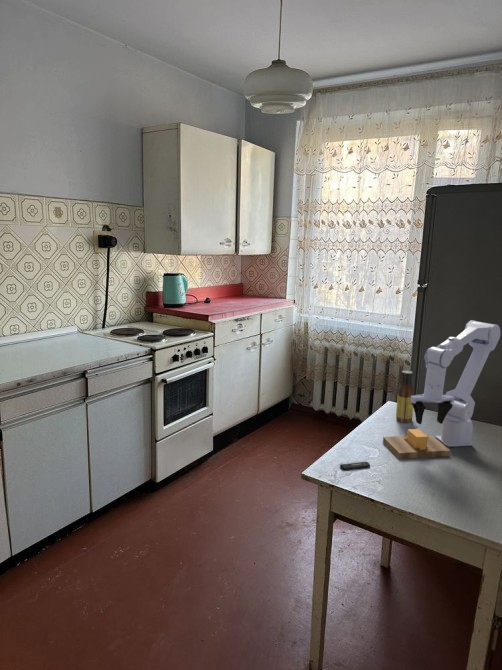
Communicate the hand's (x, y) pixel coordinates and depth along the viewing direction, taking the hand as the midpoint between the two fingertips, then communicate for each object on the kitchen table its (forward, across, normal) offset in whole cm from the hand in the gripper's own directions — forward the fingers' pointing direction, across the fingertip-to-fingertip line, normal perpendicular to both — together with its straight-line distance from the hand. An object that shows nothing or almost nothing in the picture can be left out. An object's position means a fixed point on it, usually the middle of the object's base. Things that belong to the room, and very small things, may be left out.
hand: (429, 422), depth 152 cm
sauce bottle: (+10, +6, +26) cm, 29 cm away
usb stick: (+12, -28, -7) cm, 31 cm away
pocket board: (+10, -2, +2) cm, 11 cm away
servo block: (+10, -2, +2) cm, 11 cm away
